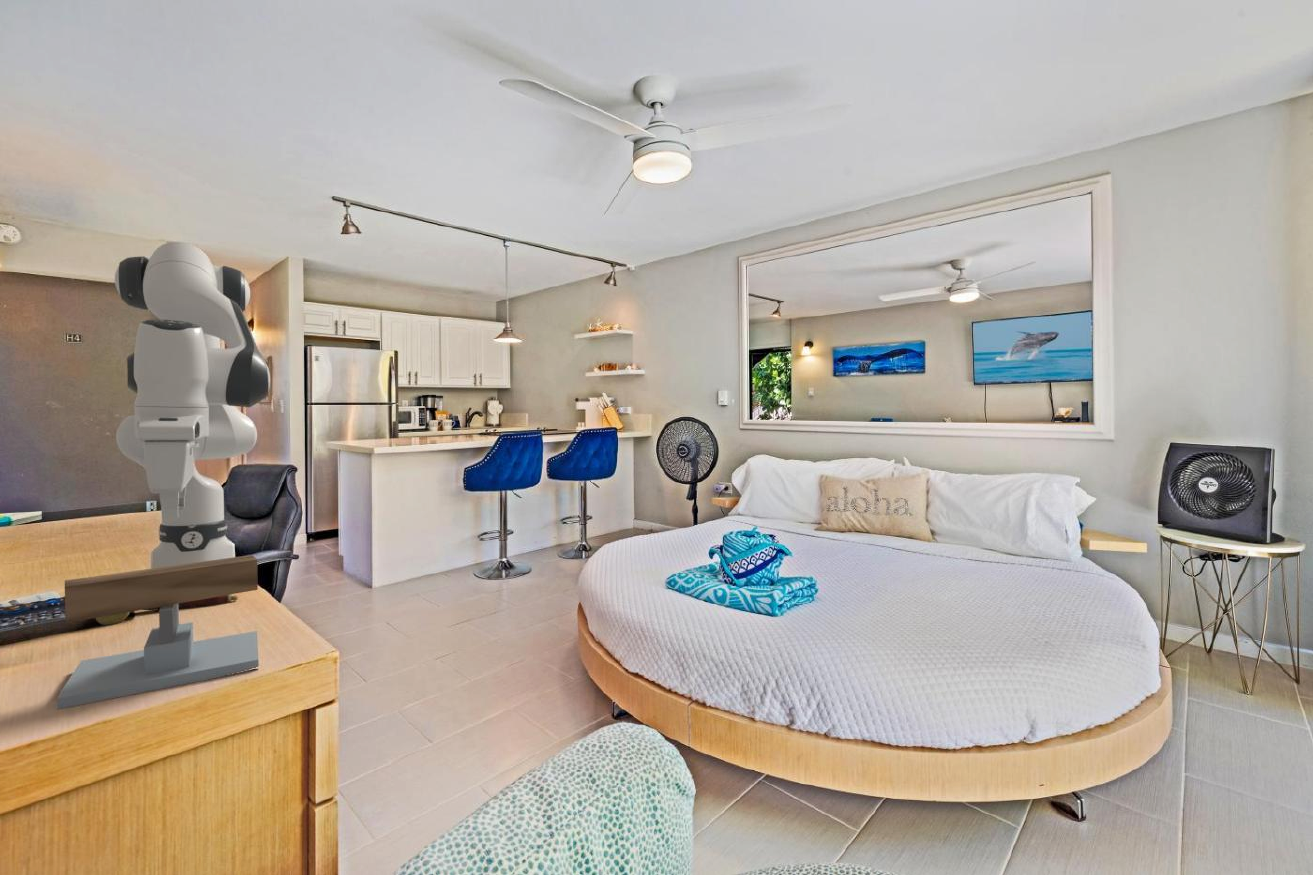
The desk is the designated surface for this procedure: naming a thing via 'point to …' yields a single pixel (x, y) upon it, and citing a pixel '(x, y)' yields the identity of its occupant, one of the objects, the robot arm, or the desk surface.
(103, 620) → the gavel
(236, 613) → the desk surface
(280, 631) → the desk surface
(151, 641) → the ridge stand
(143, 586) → the bar
